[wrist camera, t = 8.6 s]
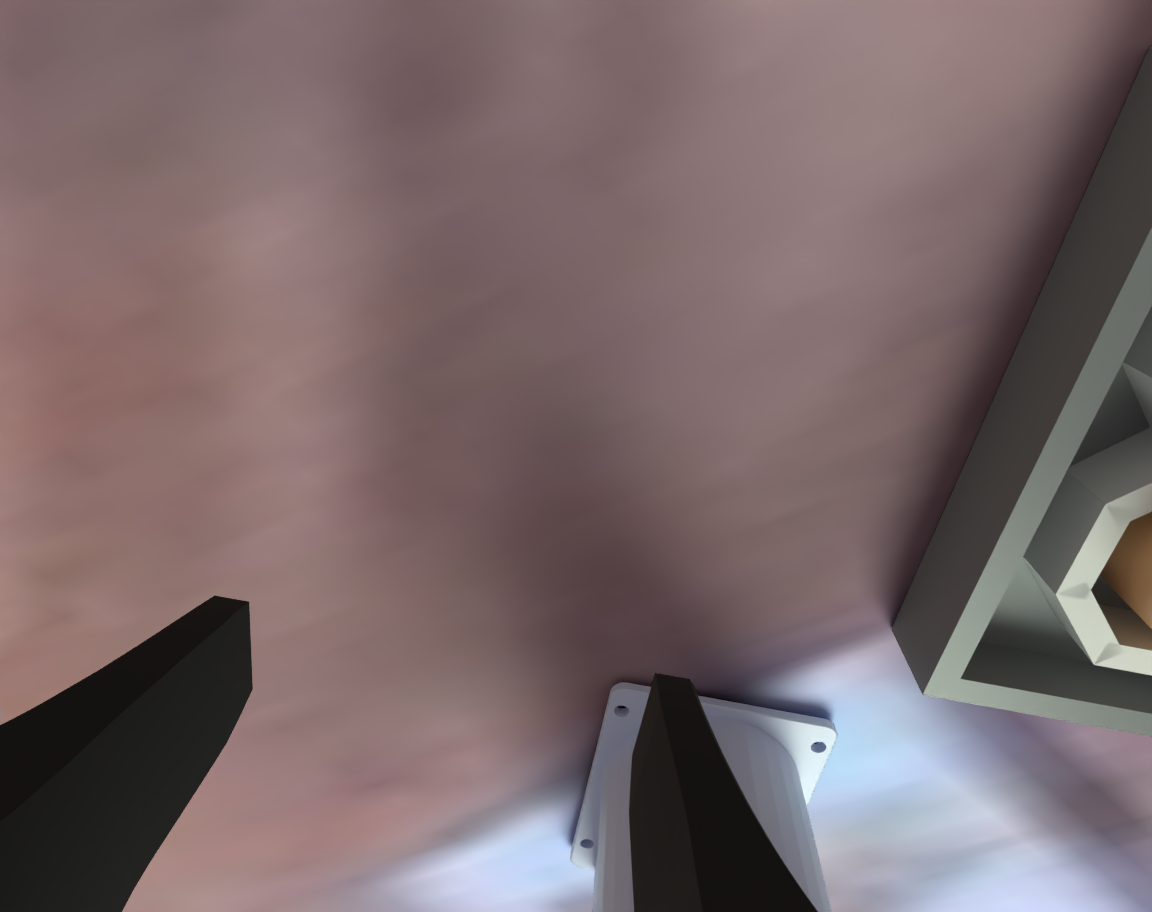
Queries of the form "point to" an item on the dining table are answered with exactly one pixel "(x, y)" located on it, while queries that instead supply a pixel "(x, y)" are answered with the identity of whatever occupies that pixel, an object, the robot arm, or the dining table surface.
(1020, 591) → the housing
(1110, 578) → the orange battery
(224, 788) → the dining table surface
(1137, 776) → the dining table surface
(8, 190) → the dining table surface
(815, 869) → the robot arm
